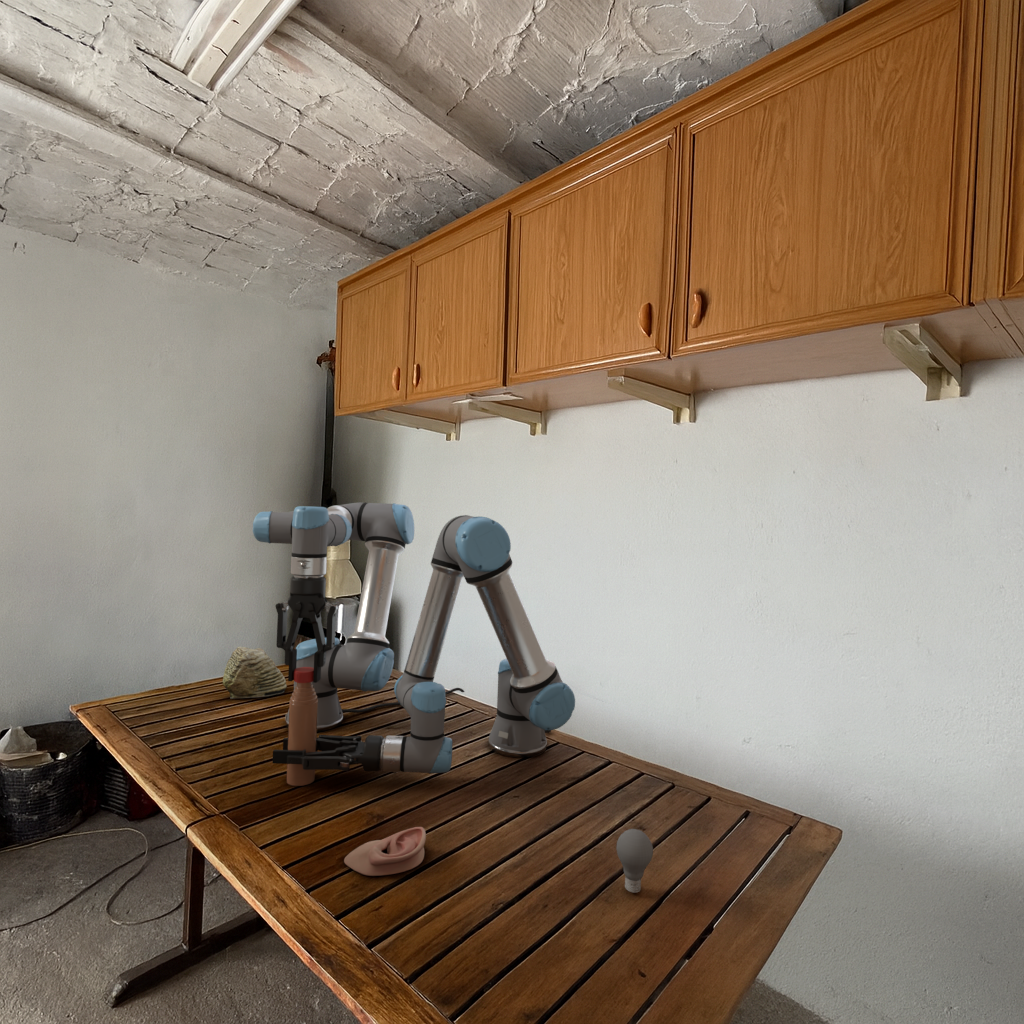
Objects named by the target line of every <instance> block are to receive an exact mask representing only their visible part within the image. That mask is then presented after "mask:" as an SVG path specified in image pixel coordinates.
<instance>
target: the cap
mask: <svg viewBox="0 0 1024 1024" xmlns="http://www.w3.org/2000/svg"><path fill="white" fill-rule="evenodd" d="M313 676H314V668H312V667H300V668H296V669H295V670H294V680H293V682H294V681H295V682H297V683H309V682H313Z"/></svg>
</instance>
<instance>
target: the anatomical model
mask: <svg viewBox="0 0 1024 1024" xmlns="http://www.w3.org/2000/svg"><path fill="white" fill-rule="evenodd" d="M426 839H427V834H426V829H425V827H423V826H415V827H411V828H407V829H404V830H401V831H398V832H396V833H394V834H392V835H389V836H387V837H385V838H383V839H376V840H370V841H368V842H365V843H363V844H361V845H359V846H357V847H356V848H355V849H353V850H352V851H350V852H349V853H348V854H347V855H346V856H345V857H344V859H343V863H344V865H346V866H347V867H348V868H350V869H352V870H353V871H355V872H356V873H359V874H361V875H364V876H369V877H377V876H389V875H394V874H395V875H396V874H399V873H403V872H407V871H409V870H412V869H414V868H416V867H418V866H419V865H421V863H422V862H423V860H424V859H425V848H424V846H425V844H426Z"/></svg>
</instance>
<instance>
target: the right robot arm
mask: <svg viewBox="0 0 1024 1024" xmlns="http://www.w3.org/2000/svg"><path fill="white" fill-rule="evenodd" d="M511 545H512V544H511V539H510V535H509V534H508V531H507V530H506V529H505V527H503V525H502V524H500V523H499V522H497V521H496V520H494V519H492V518H489V517H488V516H487V517H486V516H472V515H468V514H464V515H457V516H455V517H453V518H451V519H450V520H448V521H447V522H446V523H445V524H444V526H443V527H442V528H441V530H440V532H439V535H438V537H437V540H436V543H435V547H434V551H433V554H432V557H431V561H430V566H431V568H432V573H431V576H430V579H429V582H428V583H429V584H428V587H427V590H426V593H425V597H424V601H423V604H422V608H421V611H420V615H419V618H418V622H417V625H416V629H415V632H414V635H413V639H412V643H411V647H410V649H409V652H408V656H407V659H406V664H405V666H404V670H403V673H402V675H400V676H399V677H398V678H397V680H396V681H395V683H394V687H393V691H394V696H395V698H396V701H397V702H399V703H400V704H401V705H400V706H401V707H403V709H404V710H405V712H406V713H407V714H408V715H409V717H410V731H409V734H410V735H409V736H407V735H386V736H385V737H384V736H383V735H376V734H375V735H373V734H369V735H367V736H366V738H365V740H364V741H362V739H363V738H362V736H361V735H354V736H349V735H332V734H319V735H318V737H316V752H308V753H306V749H304V750H303V751H302V750H288V737H283V739H282V749H273V750H272V764H277V765H278V764H279V765H280V764H281V765H287V764H302V765H303V769H304V770H315V771H317V770H319V771H321V770H322V771H323V770H324V771H325V770H326V771H327V770H328V771H329V770H330V771H333V770H334V771H345V772H348V771H350V766H353V765H362V769H363V771H365V772H380V771H381V770H382V771H383V772H388V773H389V772H390V773H392V774H397V773H418V774H420V773H421V774H429V775H430V774H431V775H432V774H445V773H448V772H450V771H451V768H452V762H453V743H454V742H453V739H452V738H451V737H447V736H445V720H446V719H445V717H446V704H447V698H446V695H445V692H446V687H445V686H444V685H443V684H441V683H439V682H436V681H434V679H435V676H436V673H437V668H438V665H439V662H440V658H441V655H442V652H443V648H444V645H445V640H446V637H447V635H448V630H449V627H450V624H451V620H452V616H453V614H454V613H453V612H454V611H455V610H454V609H455V606H456V602H457V599H458V596H459V592H460V589H461V586H462V583H463V578H464V580H465V583H466V584H468V585H471V586H473V587H475V589H476V591H477V593H478V595H479V598H480V600H481V602H482V606H483V607H484V610H485V612H486V614H487V616H488V618H489V621H490V624H491V627H492V628H493V630H494V633H495V636H496V637H497V640H498V642H499V644H500V647H501V649H502V651H503V653H504V656H505V658H503V659H502V660H501V661H500V662H499V664H498V671H497V695H496V696H497V697H496V698H497V700H496V715H495V720H494V722H493V725H492V728H491V730H490V733H489V735H488V748H489V749H490V750H491V751H492V752H493V753H496V754H498V755H502V756H506V757H511V758H531V757H535V756H536V757H537V756H539V755H541V754H544V753H545V751H547V747H548V739H547V735H546V734H549V733H551V732H552V731H555V730H558V729H560V728H562V727H563V726H565V724H567V723H568V722H569V720H570V719H571V718H572V715H573V712H574V710H575V708H576V697H575V696H576V695H575V693H574V691H573V690H572V688H571V687H570V686H569V685H568V684H567V683H566V682H563V679H562V678H561V675H560V673H559V670H558V668H557V666H556V664H555V662H554V661H553V660H550V659H547V658H546V656H545V652H544V650H543V649H542V646H541V644H540V642H539V639H538V637H537V634H536V632H535V630H534V627H533V624H532V622H531V620H530V617H529V615H528V613H527V610H526V607H525V606H524V603H523V601H522V598H521V596H520V593H519V590H518V588H517V587H516V584H515V581H514V579H513V577H512V574H511V569H512V567H513V565H514V562H513V560H512V556H511V555H510V552H511V549H512V547H511Z"/></svg>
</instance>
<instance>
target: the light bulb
mask: <svg viewBox="0 0 1024 1024" xmlns="http://www.w3.org/2000/svg"><path fill="white" fill-rule="evenodd" d="M615 849H616V854H617V857H618V859H619V861H620V863H621V865H622V867H623V873H624V874H623V875H624V876H625V878H624V888H625V890H627V891H628V892H630V893H634V894H635V893H639V892H640V891H641V889H642V887H641V886H642V879H643V877H644V875H645V871H646V868H647V867H648V866H649V864H650V863H651V861H652V859H653V855H654V847H653V843H652V841H651V838H649V836H648V835H647V834H646V833H645V832H643V831H642V830H641V829H636V828H629V829H627V830H625V831H623V832H622V833H621V834H620V835H619V837H618V839H617V841H616V847H615Z"/></svg>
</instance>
